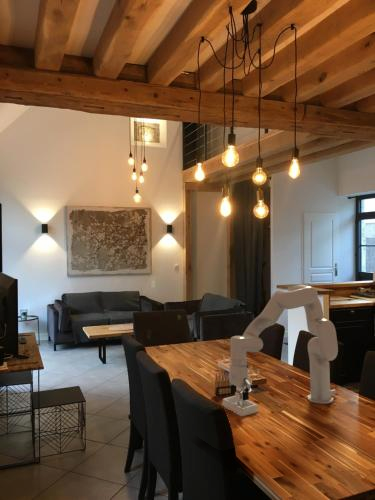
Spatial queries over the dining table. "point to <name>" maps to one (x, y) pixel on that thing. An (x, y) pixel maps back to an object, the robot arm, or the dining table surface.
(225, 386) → the ammunition clip
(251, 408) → the trough
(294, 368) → the dining table surface
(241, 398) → the cylinder
